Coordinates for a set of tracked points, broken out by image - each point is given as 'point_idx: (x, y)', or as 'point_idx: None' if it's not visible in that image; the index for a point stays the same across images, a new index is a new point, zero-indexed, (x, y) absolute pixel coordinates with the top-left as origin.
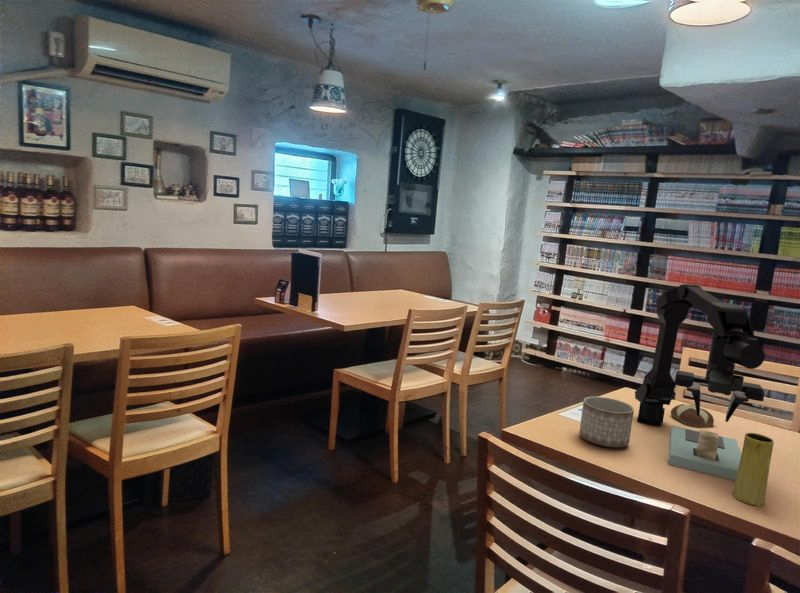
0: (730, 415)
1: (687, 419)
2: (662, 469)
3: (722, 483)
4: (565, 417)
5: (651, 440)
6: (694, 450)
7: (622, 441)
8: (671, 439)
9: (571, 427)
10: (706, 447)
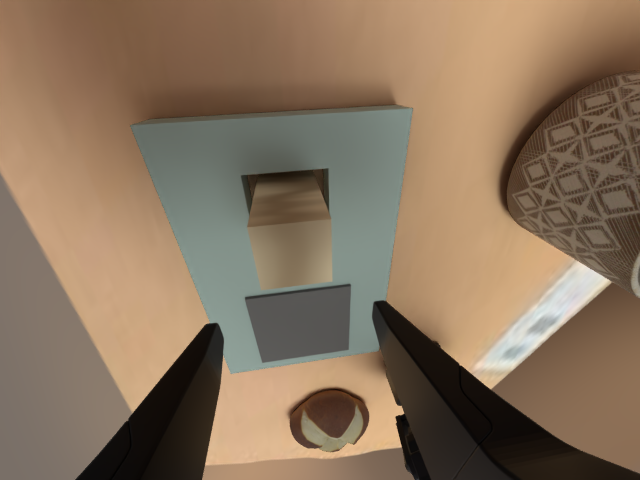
0: (176, 368)
1: (339, 402)
2: (425, 17)
3: (209, 40)
4: None
5: (421, 264)
6: None
7: (570, 115)
8: (389, 261)
9: None
10: (292, 197)
